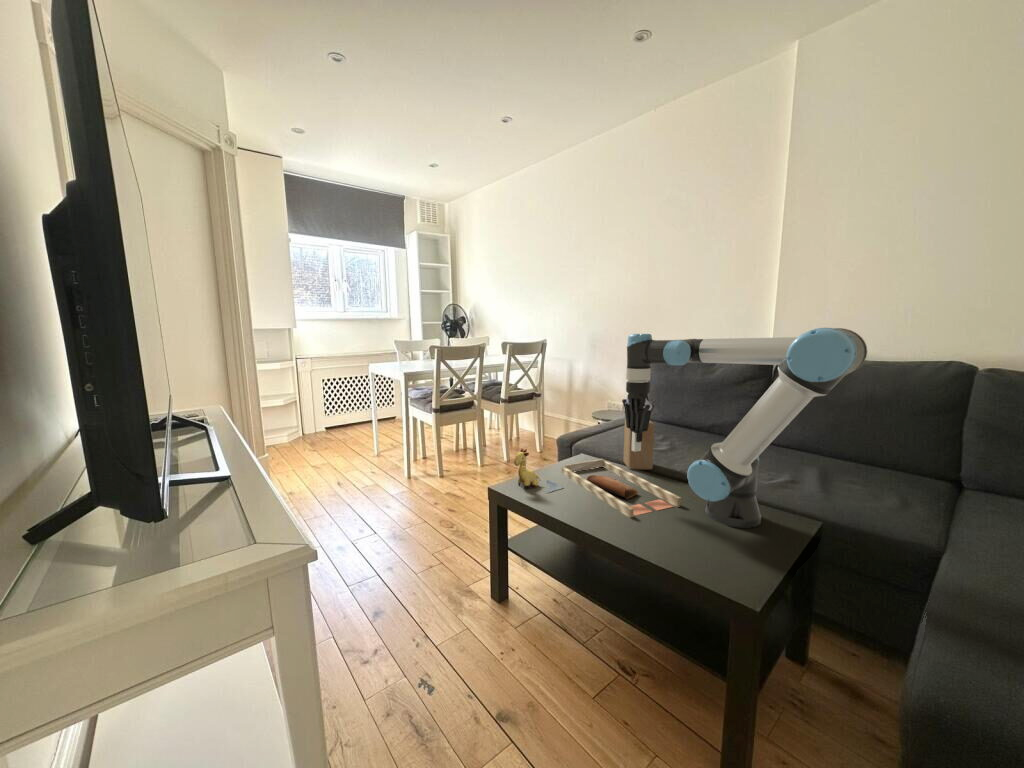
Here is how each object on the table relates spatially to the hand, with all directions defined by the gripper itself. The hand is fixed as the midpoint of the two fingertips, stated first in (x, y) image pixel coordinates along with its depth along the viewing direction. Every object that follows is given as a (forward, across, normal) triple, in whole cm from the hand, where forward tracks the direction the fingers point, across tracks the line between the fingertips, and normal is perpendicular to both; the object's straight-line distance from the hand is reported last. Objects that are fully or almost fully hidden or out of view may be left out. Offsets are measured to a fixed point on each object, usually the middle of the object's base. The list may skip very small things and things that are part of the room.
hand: (636, 450), depth 135 cm
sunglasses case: (+18, +10, 0) cm, 21 cm away
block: (+17, +26, -24) cm, 40 cm away
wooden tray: (+17, +10, 0) cm, 20 cm away
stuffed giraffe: (+18, +23, +28) cm, 41 cm away
